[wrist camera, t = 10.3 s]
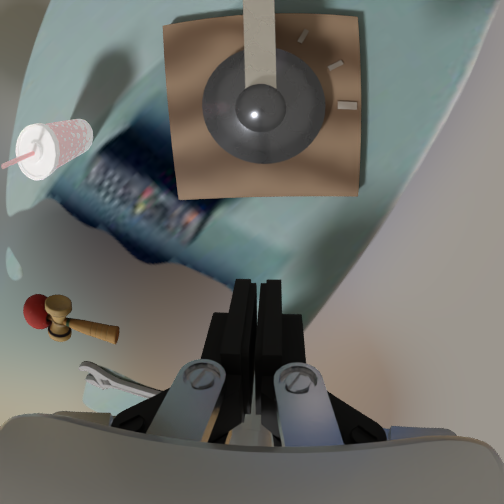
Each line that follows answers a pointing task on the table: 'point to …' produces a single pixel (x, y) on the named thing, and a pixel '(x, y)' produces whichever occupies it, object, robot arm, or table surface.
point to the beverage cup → (50, 146)
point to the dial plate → (276, 174)
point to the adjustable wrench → (114, 381)
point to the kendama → (63, 319)
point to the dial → (263, 95)
